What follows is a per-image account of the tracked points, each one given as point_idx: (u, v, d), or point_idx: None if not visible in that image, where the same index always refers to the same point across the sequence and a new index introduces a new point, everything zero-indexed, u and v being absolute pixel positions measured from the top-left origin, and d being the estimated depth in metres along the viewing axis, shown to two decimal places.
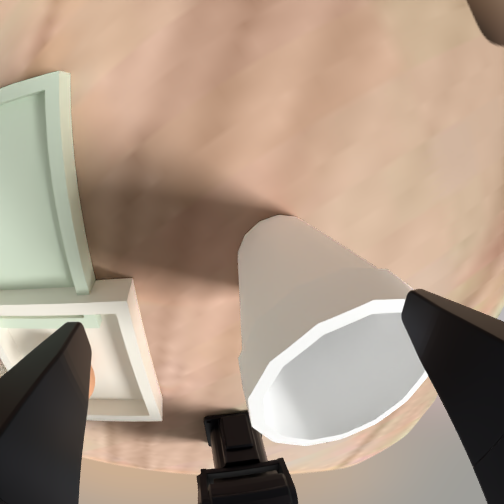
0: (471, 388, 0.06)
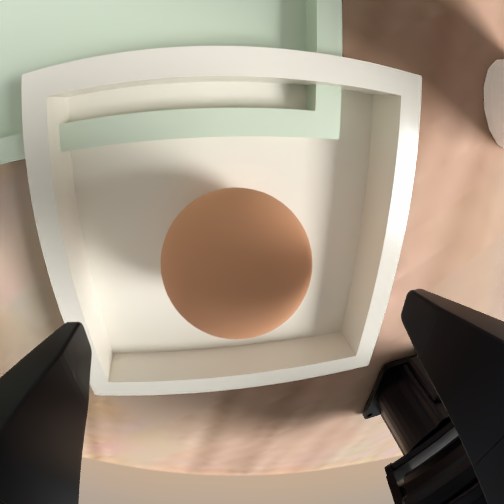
0: (471, 388, 0.06)
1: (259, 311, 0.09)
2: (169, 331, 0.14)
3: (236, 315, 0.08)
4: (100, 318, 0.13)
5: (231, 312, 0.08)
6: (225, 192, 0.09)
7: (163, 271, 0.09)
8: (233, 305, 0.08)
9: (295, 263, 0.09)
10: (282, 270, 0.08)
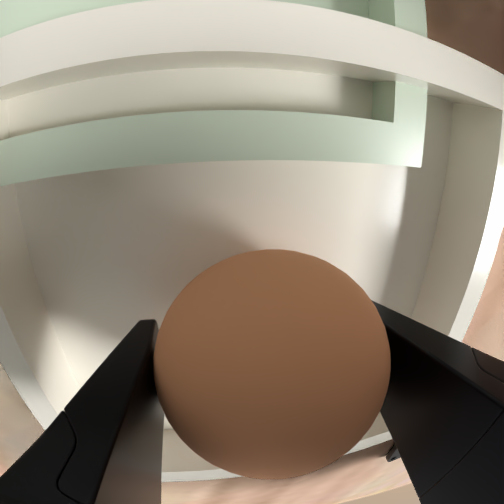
0: (413, 414, 0.05)
1: (319, 464, 0.04)
2: None
3: (282, 473, 0.04)
4: None
5: (276, 471, 0.04)
6: (262, 270, 0.05)
7: (159, 395, 0.05)
8: (281, 466, 0.04)
9: (379, 392, 0.05)
10: (362, 411, 0.04)
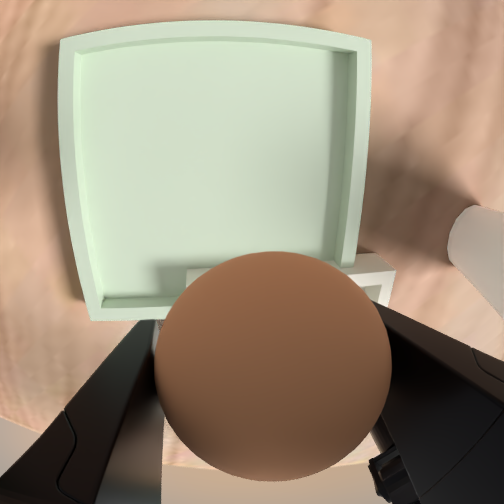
0: (413, 414, 0.05)
1: (320, 466, 0.04)
2: None
3: (283, 476, 0.04)
4: None
5: (277, 474, 0.04)
6: (263, 272, 0.05)
7: (160, 398, 0.05)
8: (282, 469, 0.04)
9: (379, 393, 0.05)
10: (362, 414, 0.04)
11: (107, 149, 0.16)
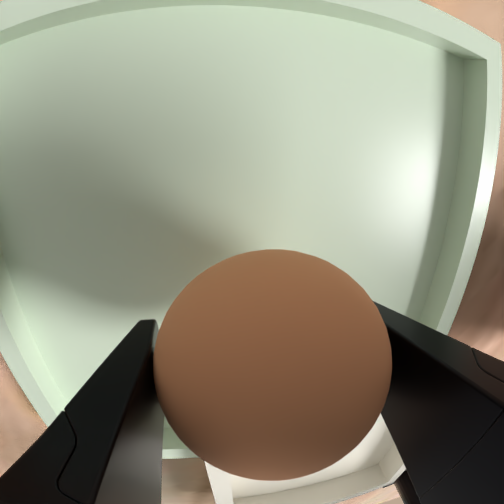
0: (413, 414, 0.05)
1: (320, 466, 0.04)
2: (274, 487, 0.18)
3: (283, 474, 0.04)
4: None
5: (277, 473, 0.04)
6: (263, 270, 0.05)
7: (159, 396, 0.05)
8: (282, 468, 0.04)
9: (380, 392, 0.05)
10: (363, 412, 0.04)
11: (37, 233, 0.08)
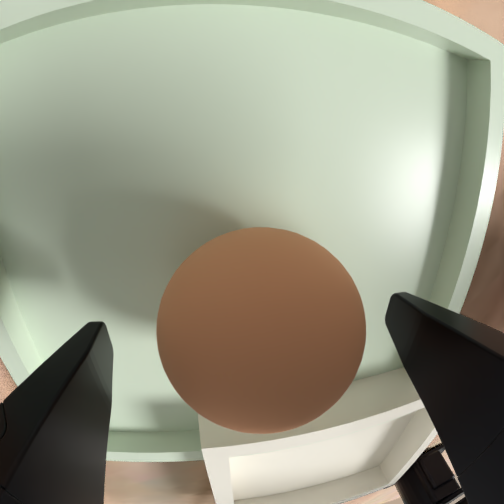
0: (455, 396, 0.06)
1: (301, 414, 0.05)
2: (274, 489, 0.18)
3: (268, 422, 0.05)
4: None
5: (262, 419, 0.05)
6: (250, 240, 0.06)
7: (161, 352, 0.06)
8: (266, 413, 0.05)
9: (353, 347, 0.06)
10: (337, 363, 0.05)
11: (35, 236, 0.08)
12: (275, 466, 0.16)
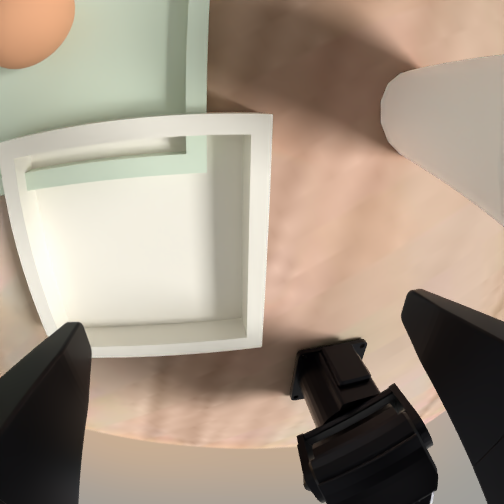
0: (471, 388, 0.06)
1: (8, 13, 0.07)
2: (107, 311, 0.19)
3: None
4: (60, 300, 0.18)
5: None
6: None
7: None
8: None
9: None
10: None
11: None
12: (88, 249, 0.17)
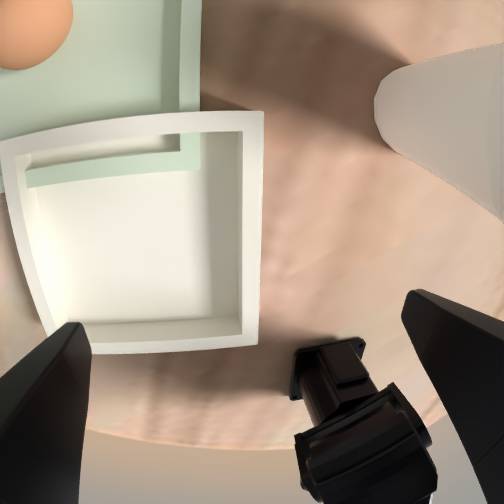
0: (471, 388, 0.06)
1: (10, 16, 0.07)
2: (105, 308, 0.19)
3: None
4: (58, 297, 0.18)
5: None
6: None
7: None
8: None
9: None
10: None
11: None
12: (86, 246, 0.17)
